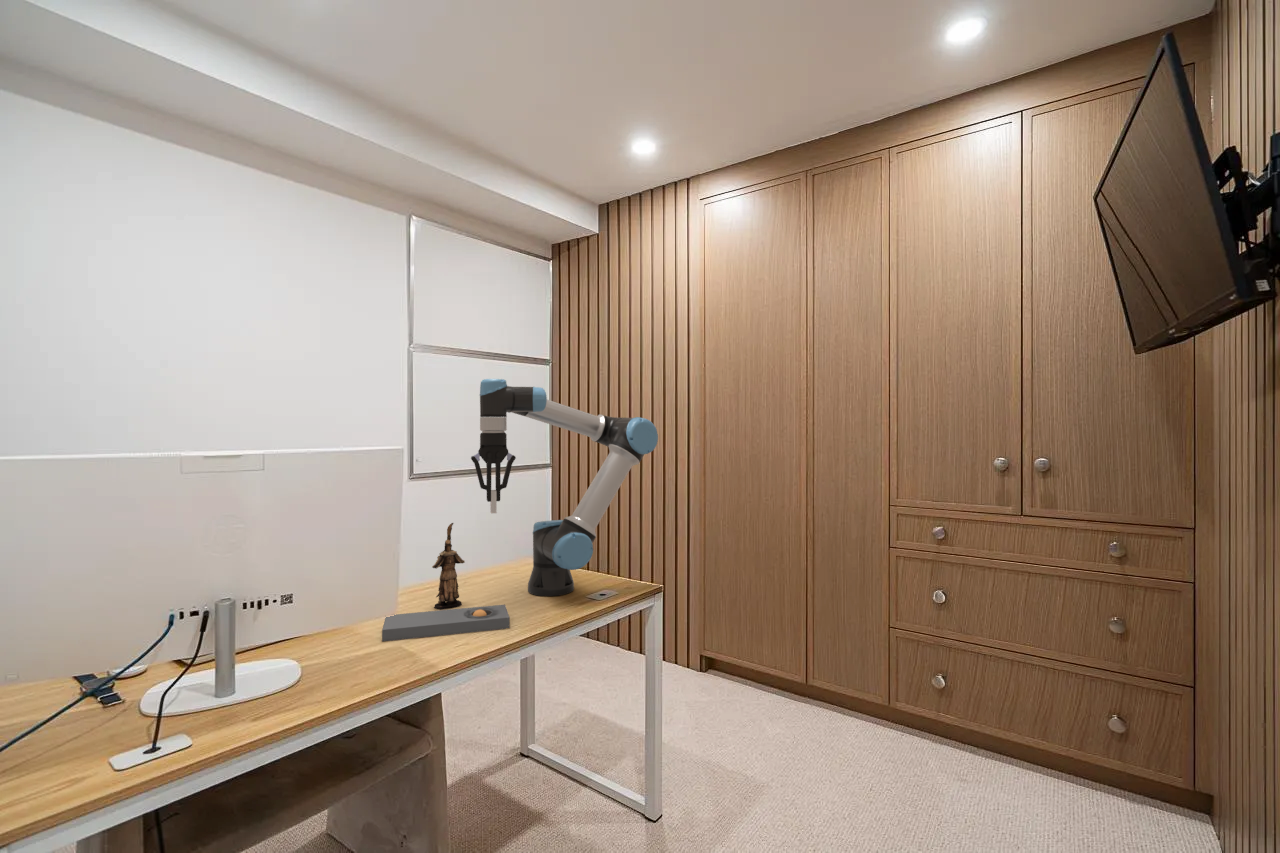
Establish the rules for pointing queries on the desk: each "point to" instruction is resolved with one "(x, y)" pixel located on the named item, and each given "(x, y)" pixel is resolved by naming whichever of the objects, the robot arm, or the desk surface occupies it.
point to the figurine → (448, 576)
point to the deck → (444, 622)
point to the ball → (479, 613)
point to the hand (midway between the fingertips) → (493, 512)
